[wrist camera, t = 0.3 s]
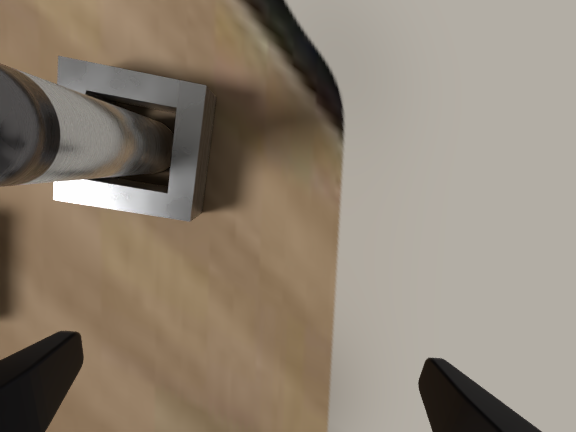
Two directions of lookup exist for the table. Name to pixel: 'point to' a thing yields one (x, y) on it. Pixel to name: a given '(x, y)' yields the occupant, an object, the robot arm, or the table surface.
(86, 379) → the table surface
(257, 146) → the table surface
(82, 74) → the socket block
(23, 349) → the robot arm
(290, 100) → the table surface
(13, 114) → the silver and grey cylinder
